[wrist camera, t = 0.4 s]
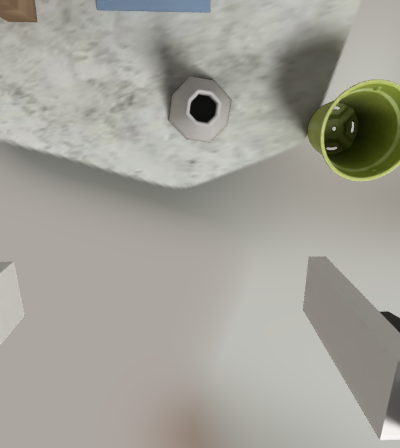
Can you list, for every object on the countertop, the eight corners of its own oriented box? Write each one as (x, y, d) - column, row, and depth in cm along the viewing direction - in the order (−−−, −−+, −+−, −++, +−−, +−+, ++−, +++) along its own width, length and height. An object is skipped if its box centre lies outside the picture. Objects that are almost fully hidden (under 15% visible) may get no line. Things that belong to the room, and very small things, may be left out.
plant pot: (368, 164, 41) (413, 176, 33) (293, 172, 41) (320, 185, 33) (373, 83, 38) (424, 74, 30) (293, 92, 38) (321, 84, 30)
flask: (158, 124, 39) (149, 126, 29) (185, 64, 37) (185, 46, 27) (212, 152, 40) (220, 163, 30) (241, 96, 38) (259, 89, 29)
